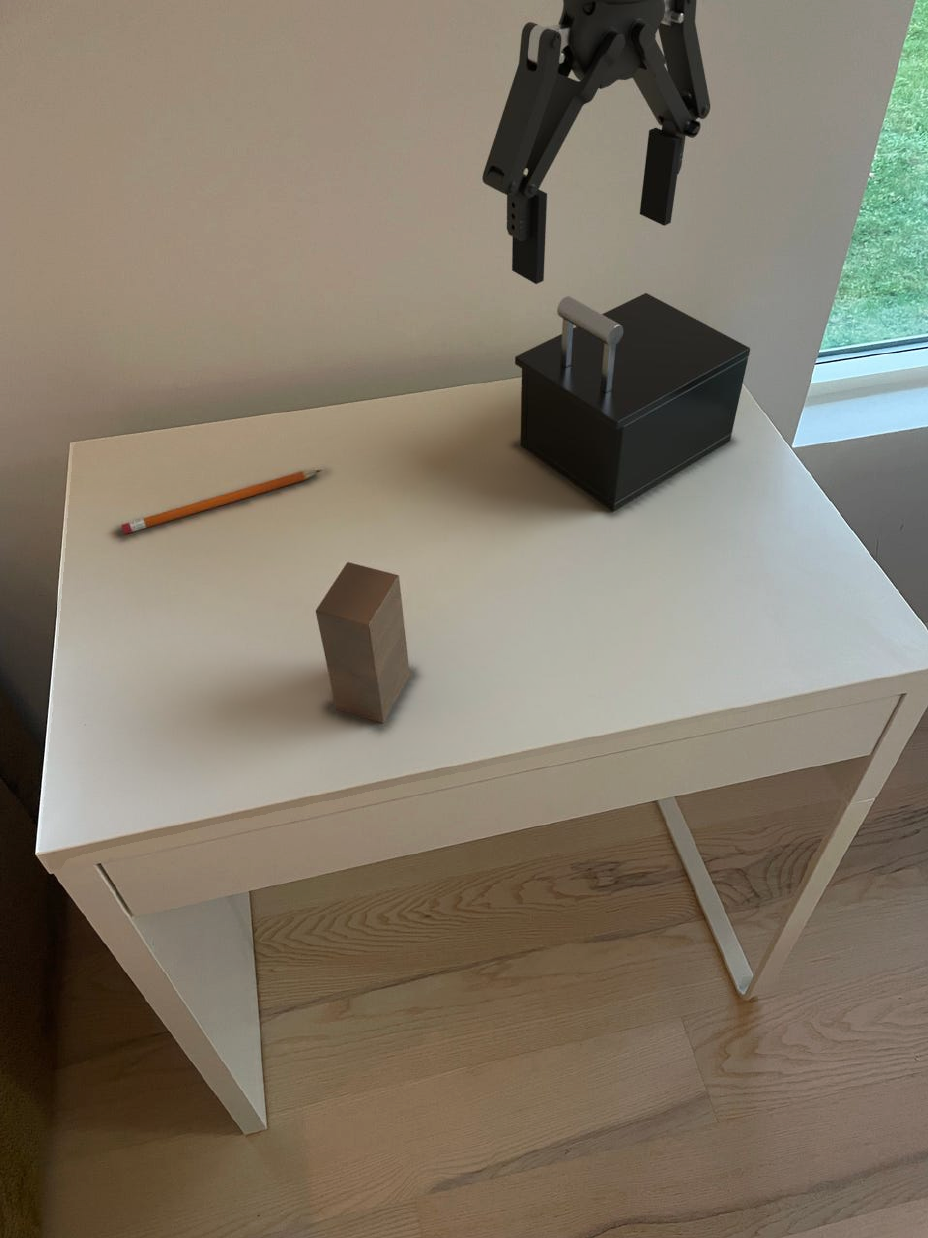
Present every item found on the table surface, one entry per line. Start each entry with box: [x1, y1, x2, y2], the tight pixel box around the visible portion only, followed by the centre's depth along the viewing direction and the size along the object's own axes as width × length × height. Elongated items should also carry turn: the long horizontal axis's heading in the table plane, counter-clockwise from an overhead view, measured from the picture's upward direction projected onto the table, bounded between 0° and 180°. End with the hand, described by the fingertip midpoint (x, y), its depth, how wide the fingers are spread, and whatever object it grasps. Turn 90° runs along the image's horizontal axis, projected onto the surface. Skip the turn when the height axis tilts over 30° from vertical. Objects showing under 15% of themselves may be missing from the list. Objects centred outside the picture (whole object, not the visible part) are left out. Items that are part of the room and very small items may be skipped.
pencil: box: [121, 469, 322, 535], centre depth 89 cm, size 1×19×1 cm, turn 115°
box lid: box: [514, 292, 751, 430], centre depth 84 cm, size 17×13×7 cm
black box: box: [519, 356, 749, 513], centre depth 90 cm, size 16×13×9 cm
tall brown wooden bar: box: [315, 561, 411, 724], centre depth 70 cm, size 4×5×11 cm
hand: (593, 246), depth 75 cm, fingers open, 13 cm apart
